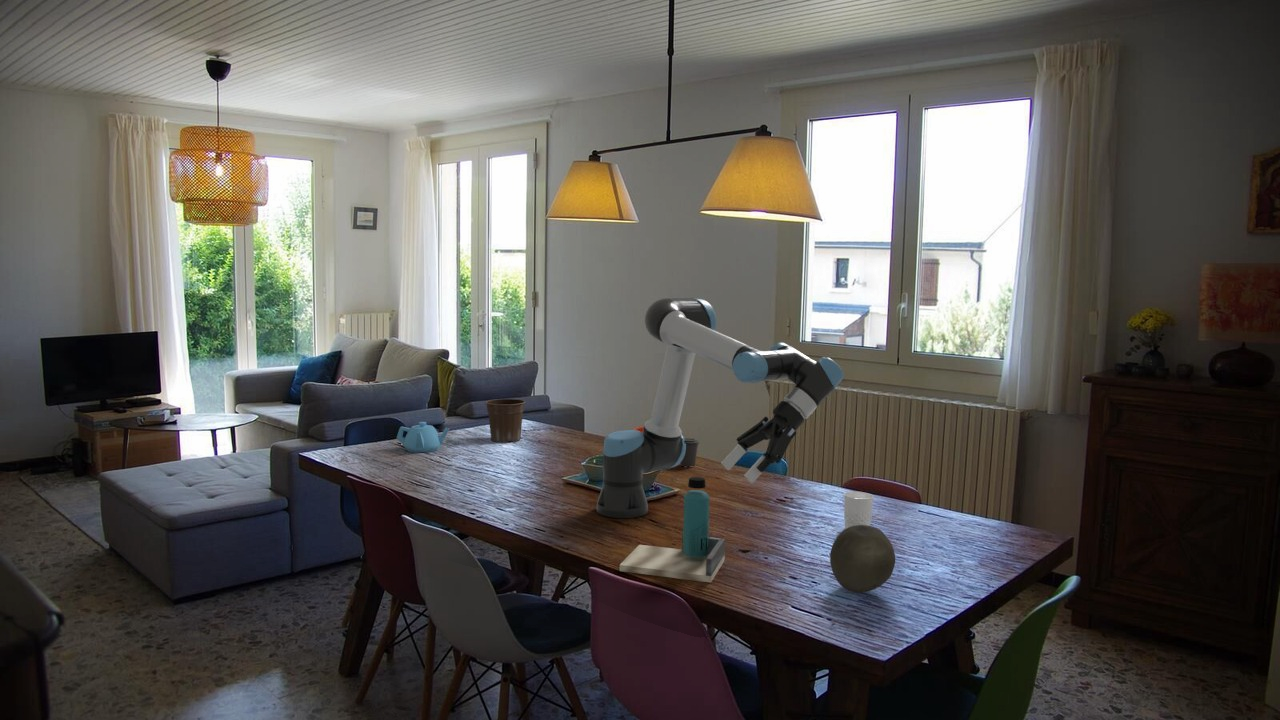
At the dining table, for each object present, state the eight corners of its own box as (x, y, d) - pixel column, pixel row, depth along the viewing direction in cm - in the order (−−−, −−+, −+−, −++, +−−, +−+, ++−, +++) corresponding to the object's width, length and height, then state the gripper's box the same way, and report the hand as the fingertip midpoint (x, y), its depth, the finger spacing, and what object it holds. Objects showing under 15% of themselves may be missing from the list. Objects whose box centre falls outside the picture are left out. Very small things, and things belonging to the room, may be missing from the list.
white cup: (855, 535, 232) (857, 500, 231) (836, 527, 239) (838, 493, 238) (877, 532, 236) (879, 497, 235) (858, 524, 243) (859, 490, 242)
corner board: (619, 570, 201) (619, 548, 200) (639, 550, 216) (639, 529, 216) (710, 582, 195) (711, 559, 194) (724, 560, 210) (725, 538, 209)
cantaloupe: (824, 598, 187) (827, 531, 185) (833, 576, 200) (836, 514, 198) (890, 608, 182) (894, 540, 180) (895, 586, 195) (899, 522, 193)
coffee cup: (702, 465, 313) (703, 438, 312) (691, 469, 306) (692, 442, 305) (683, 462, 317) (684, 436, 316) (672, 466, 310) (673, 439, 309)
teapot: (426, 443, 342) (426, 417, 340) (450, 449, 332) (450, 421, 331) (394, 449, 330) (394, 422, 329) (418, 455, 320) (418, 427, 319)
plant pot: (479, 442, 346) (479, 403, 344) (492, 435, 362) (493, 397, 360) (518, 444, 343) (518, 405, 341) (529, 437, 359) (530, 399, 357)
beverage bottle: (701, 565, 201) (703, 482, 199) (676, 560, 205) (678, 478, 203) (713, 557, 207) (716, 477, 205) (689, 552, 210) (691, 473, 208)
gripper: (829, 429, 199) (768, 496, 196) (779, 412, 223) (725, 471, 220) (809, 407, 197) (748, 474, 194) (762, 392, 220) (706, 452, 217)
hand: (735, 473), depth 207 cm, fingers open, 13 cm apart
